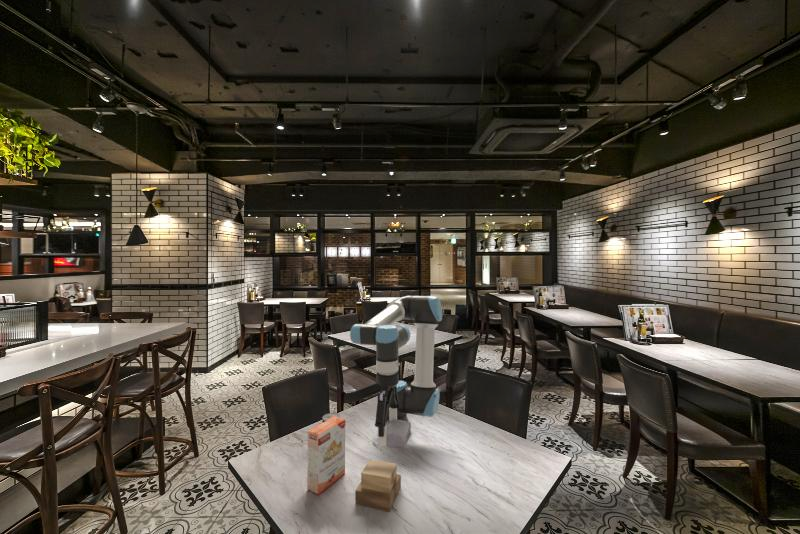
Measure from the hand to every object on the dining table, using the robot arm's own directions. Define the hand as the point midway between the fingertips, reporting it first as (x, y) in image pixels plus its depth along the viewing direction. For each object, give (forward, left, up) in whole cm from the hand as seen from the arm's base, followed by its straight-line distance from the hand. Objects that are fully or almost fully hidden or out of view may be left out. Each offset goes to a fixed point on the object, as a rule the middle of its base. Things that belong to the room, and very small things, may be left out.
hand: (388, 435), depth 111 cm
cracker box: (-1, -24, -21) cm, 32 cm away
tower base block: (0, -3, -22) cm, 22 cm away
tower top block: (0, -3, -17) cm, 17 cm away
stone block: (0, +2, -1) cm, 2 cm away
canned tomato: (-26, -36, -21) cm, 50 cm away
